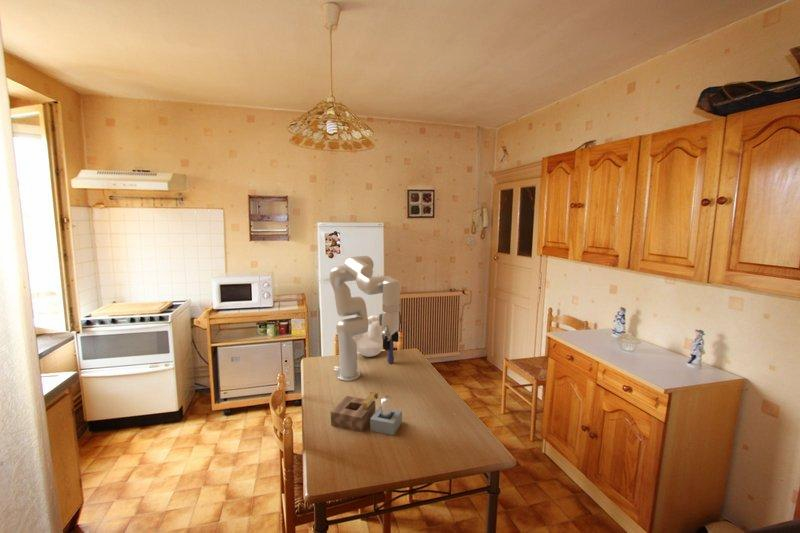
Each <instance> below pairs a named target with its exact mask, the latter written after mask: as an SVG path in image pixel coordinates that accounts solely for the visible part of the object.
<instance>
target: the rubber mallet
mask: <svg viewBox="0 0 800 533" xmlns="http://www.w3.org/2000/svg"><path fill="white" fill-rule="evenodd" d="M382 315H383V313H380V314H379V315H378V316H379V323H380V326H381V325H382ZM401 324H402V315H401V313H400V312H399V326H400V325H401ZM388 334H389V333H388ZM389 341H390V350H387V358H386V361H387V362H388V363H387V364H393V363H394V361H395V359H394V341H392V335H391V336H390V340H389Z"/></svg>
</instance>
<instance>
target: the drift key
mask: <svg viewBox="0 0 800 533" xmlns="http://www.w3.org/2000/svg"><path fill="white" fill-rule="evenodd" d="M379 394H380V393H379V391H378V392H377V391H373V390H371V391H370V392H369V395H368V396H367V397H366V398H364V399H365V400H364V402H363V403H362V404H363V408H364V409H367V408H368V407H369V406H370V405H371V404H372V403H373V401H376V400H377V399H380V398H379Z"/></svg>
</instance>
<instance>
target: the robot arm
mask: <svg viewBox="0 0 800 533" xmlns="http://www.w3.org/2000/svg"><path fill="white" fill-rule="evenodd" d="M373 269H374V262H373V259H372V258H371V257H370V256H368V255H359V256H351V257H348V258H347V259H346V260H345V261H344V264H343V265H340V266H334V267H333V268H332V269H331V270H330V272H329V281H330V285H331V287H332V289H333V290H332V291H333V293H334V299H335V306H336V313H337V314H338V316H339V317H341V318H342V317H345V319H341V320H339V321H338V322H337V323H336V328H335V329H336V335H337V338H338V339H337V340H338V341H337V342H338V358H339V359H338V361H339V364H338V365H339V366H338V365H334V366H333V372H337V374H336V378H337V379H338V380H340V381H343V382H345V381H346V382H347V381H348V382H349V381H355V380H357V379H359V378H360V377H361V371H359V370H358V351H357V344H356V342H355V340H354V339H353V338H352V337H353V336H355V335H359V334H364V333H366V332H367V331H368V328H369V324H368V317H369V316H368V310H367V303H366V302H365V299H364V298H363V297H362V296H352V294H351V289H350V286H348V284H347V282H354V281H355V283H356V286H357V287H358V289H359V290H360V291H361V292H362V293H364V294H366V295H367V296H368V295H370V296H372V295H377V294H382V314H383V315H382V325H381V335H382V338H383V339H382V340H383V348H382V350H387V351H388V350H390V341H389V340H390V336H391V335H392V341H393V343H394V342H395V343H399V334H400V333H399V332H400V330H399V329H400V325H399V313H400V312H401V308H400V307H401V305H400V304H401V303H400V302H401V282H400V281H399V280H398V279H396V278H393V277H391V276H389V275H381V276H374V270H373ZM373 276H374V277H373ZM345 282H346V283H345ZM350 316H355V317H350ZM346 317H349V318H346ZM388 333H389V334H388Z"/></svg>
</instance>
